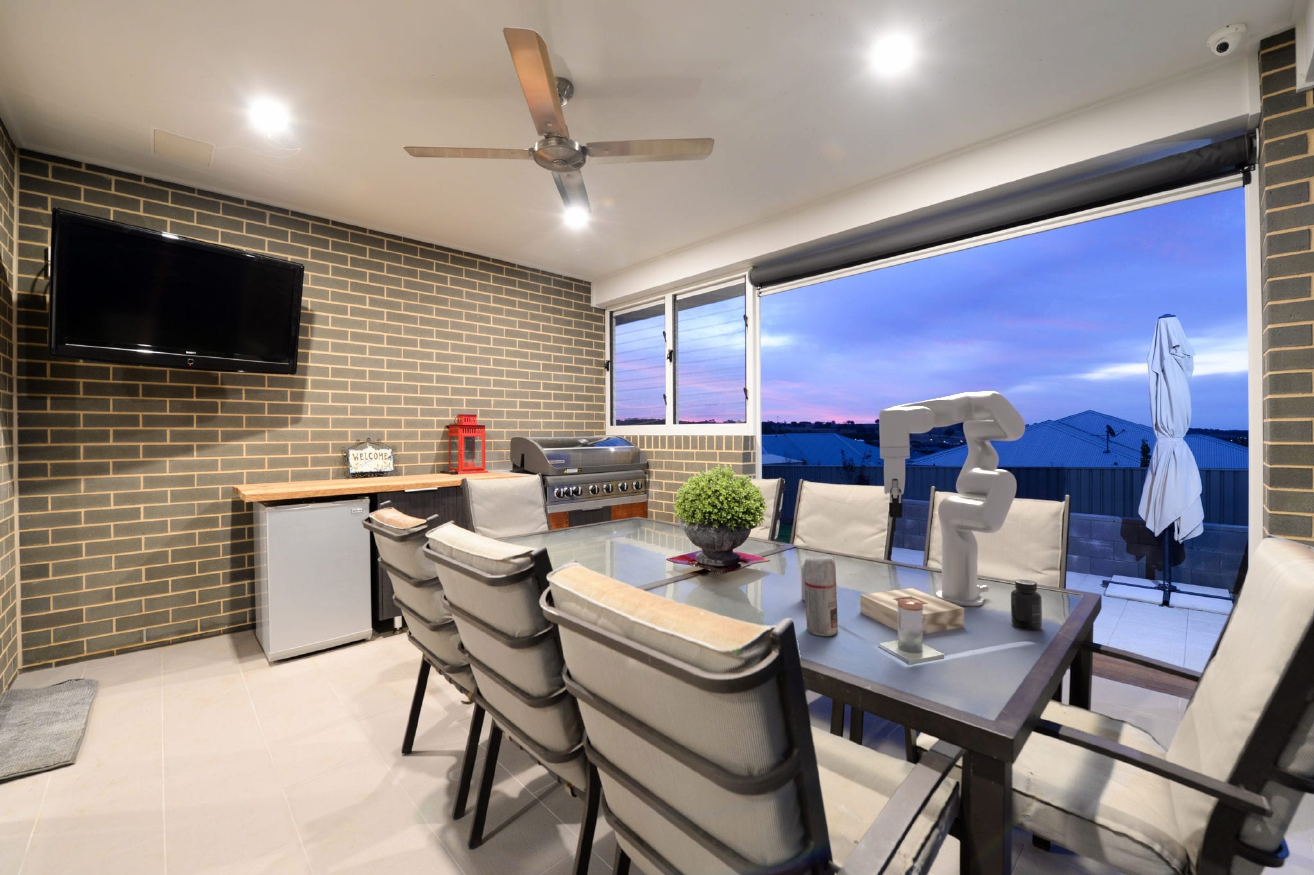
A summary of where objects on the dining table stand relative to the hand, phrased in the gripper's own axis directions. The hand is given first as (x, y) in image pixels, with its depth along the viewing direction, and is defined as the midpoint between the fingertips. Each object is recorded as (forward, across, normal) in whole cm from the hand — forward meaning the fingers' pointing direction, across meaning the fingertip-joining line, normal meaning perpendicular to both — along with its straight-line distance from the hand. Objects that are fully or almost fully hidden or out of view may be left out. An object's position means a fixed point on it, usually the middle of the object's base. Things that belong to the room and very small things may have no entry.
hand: (896, 513), depth 149 cm
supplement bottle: (+30, -5, +31) cm, 43 cm away
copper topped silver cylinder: (+28, +25, +3) cm, 37 cm away
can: (+29, -4, -24) cm, 38 cm away
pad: (+28, +25, +3) cm, 38 cm away
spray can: (+28, +20, -18) cm, 39 cm away
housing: (+29, +4, +3) cm, 30 cm away
